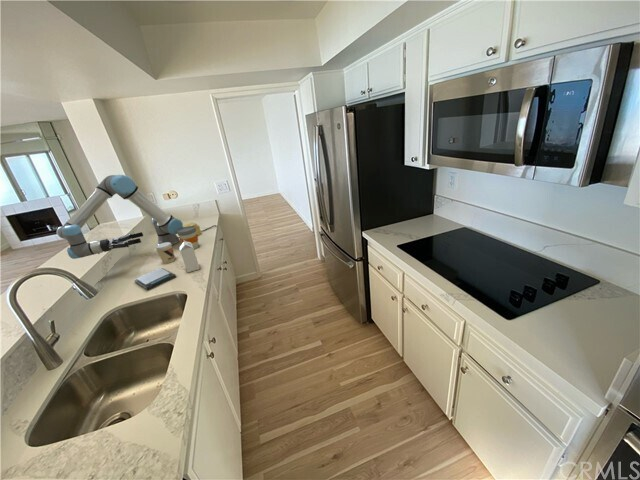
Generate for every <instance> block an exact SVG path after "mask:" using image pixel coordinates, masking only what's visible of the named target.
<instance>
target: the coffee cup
mask: <svg viewBox="0 0 640 480" xmlns="http://www.w3.org/2000/svg"><path fill="white" fill-rule="evenodd" d="M155 250H156V252H157V254H158V256H159V257H160V260H161V262H162V263H163V264H169V263H172V262H174V261H175V260H176V257H175V252H174V249H173V245H171V243H170V242H165V243H161V244H159V245H158V244H157V245H156V246H155Z"/></svg>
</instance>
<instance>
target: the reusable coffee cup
mask: <svg viewBox="0 0 640 480" xmlns="http://www.w3.org/2000/svg"><path fill="white" fill-rule="evenodd" d="M177 233H178V234H177V236H178V237H180V238H179V240H180V242H181V244H182V243H183V242H184V241H186V242H190V243H191V244H192V245H193V248H194V250H196V249H198V248H199V235H197V233H196V228H195V227H194V226H188V227H184V228H181V229H179V230H178V231H177Z"/></svg>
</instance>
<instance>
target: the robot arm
mask: <svg viewBox="0 0 640 480" xmlns="http://www.w3.org/2000/svg"><path fill="white" fill-rule="evenodd" d="M94 189H95V191H94V192H93V193H92V194H91V195H90V196H89V197H88V198H87V200H86V201H85V202H83V204H82V205H81V206H80V207H79V208H78V209H77V210H76V211H75V212H74V213H73V214H72V216H71V217H70V218H69V219H68V220H67V221H66V222H65V223H64V224H63V225H61V226H59V227H58V228H57V229H56V236H58V237H59V238H61V239H63V240H66V241H67V242H68V244H69V247H67V248H66V252H67V255H68V257H69V258H70V259H72V260H77V259H82V258H85V257H89V256H94V255H97V254H98V255H100V254H102V253H107V252H110V251H112V250H114V249H115V250H116V249H122V248H123V249H124V248H129V247H130V246H133V245H137V244H141V243H142V240H141V238H142V237H144V234H143V233H144V232H142V231H141V232H137V233H136V232H135V233H132V234H131V233H128V234H125V235H122V236H119V237H116V238H112V240H109V239H108V238H104V239H100V240H95V241H91V242H87V240H86V238H85V236H84V234H83V233H84V232H83V231H82V228H84V226H85V225H86V224H87V223H88V222H89V220H90V219H91V218H92V217H93V216H94V215H95V214H96V213H97V212H98V210H99V209H100V208H101V207H103V205H104V204H105V203H106V202H107V201H108V200H109V199H112V198H113V197H114V196H115V195H118V196H119V197H120V198H121V199H123V200H128V201H129V202H130V203H132V204H133V205H134V206H136V207H137V208H139V209H140V211H142V212H143V213H145V214H146V215H147V216H149V217H150V218H151V223H152V225H153V228H154V231H155V233H156V236H157V245H159V244H161V243H165V242H170V243H171V245H172V246H174V245H176V244H178V243H179V242H181V240H180V237H179V236H178V233H177V231H178V230H179V229H181V228H183V226H184V224H183V222H182V220H181V219H179V218H176V217H174V216H173V215H172V214H171V213H166V212H165V211H164V210H163V209H161V207H159V206H158V205H157V204H155V203H154V202H153V200H151V199H150V198H148V197H147V196H146V195H145V194H143V193H142V192H141V191H140V190H139V186H138V185H136V183H135V181H134V179H132V178H131V177H130V176H127V175H124V174H111V175H107V176H106V177H104V178H103V179H102V180H101V182H100V183H99V184H98V185H97V186H96V187H95V188H94ZM213 227H217V225H215V224H214V225H212V226H209V227H208V228H205V229H202V230H201V232H205V231H207V230H209V229H212V228H213Z"/></svg>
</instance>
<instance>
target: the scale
mask: <svg viewBox="0 0 640 480" xmlns="http://www.w3.org/2000/svg"><path fill="white" fill-rule="evenodd" d="M175 278H177V276H176V274H175V273H173V272H171V271H169V270H167V269H165V268H163V267H158V268H157V269H153V270H152V271H149V272H146V273H145V274H143V275H141V276H138V277H136V278H135V279H134V283H135V284H136V285H138V286H139V287H141V288H142V289H144V290H146V291H147V292H149V291H151V290H152V289H155V288H157V287H159V286H161V285H163V284H165V283H167V282H169V281H171V280H173V279H175Z"/></svg>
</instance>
